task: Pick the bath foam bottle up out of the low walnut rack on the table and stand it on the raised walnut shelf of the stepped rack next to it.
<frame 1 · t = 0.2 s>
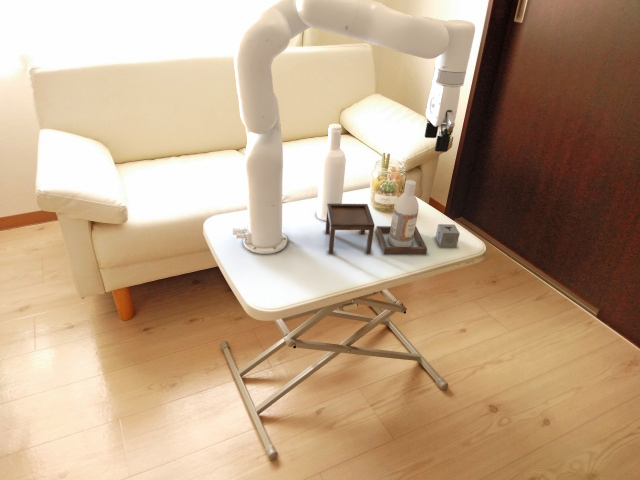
hand: (435, 144, 119), 31 cm above the table, tool pointing down, fingers open, 9 cm apart
rack: (373, 242, 135), on the table
bottle: (328, 216, 147), on the table
dice cube: (445, 243, 137), on the table
bath foam: (400, 243, 136), on the table
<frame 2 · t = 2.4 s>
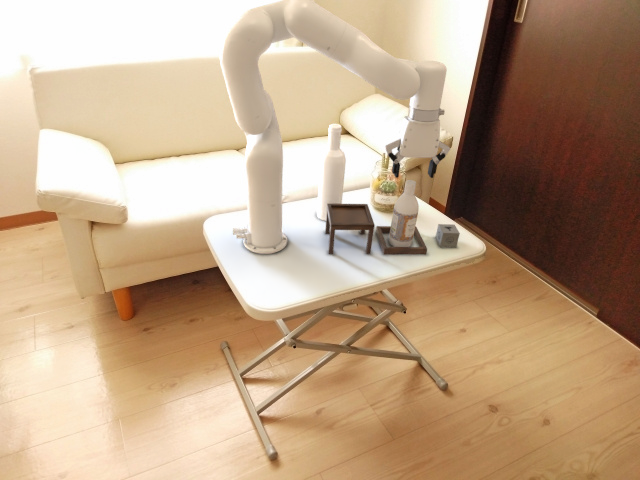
hand: (413, 175, 124), 22 cm above the table, tool pointing down, fingers open, 9 cm apart
nothing on the table moved.
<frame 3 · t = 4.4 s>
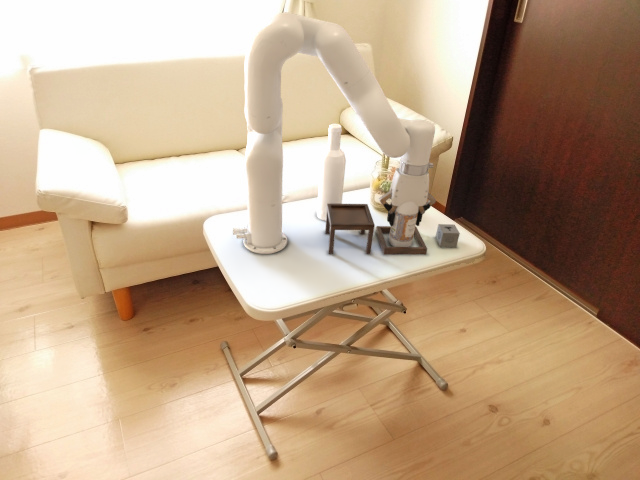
hand: (403, 223, 132), 7 cm above the table, tool pointing down, fingers closed on bath foam, 7 cm apart
bath foam: (400, 243, 136), on the table, touching gripper
everything else where it was.
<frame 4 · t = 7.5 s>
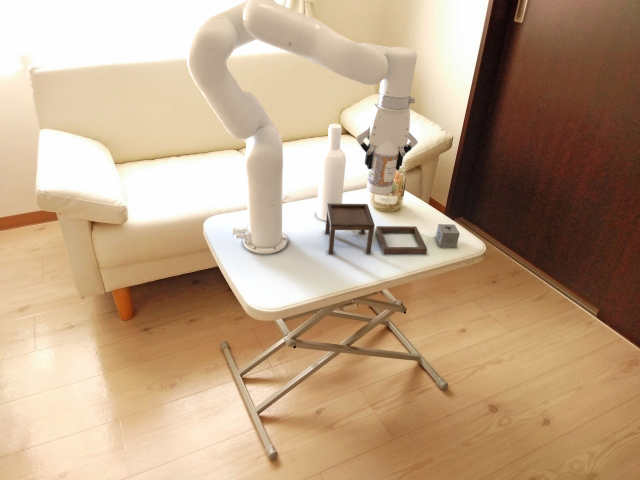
hand: (382, 167, 122), 24 cm above the table, tool pointing down, fingers closed on bath foam, 7 cm apart
bath foam: (378, 190, 125), point 17 cm above the table, touching gripper
everything else where it was.
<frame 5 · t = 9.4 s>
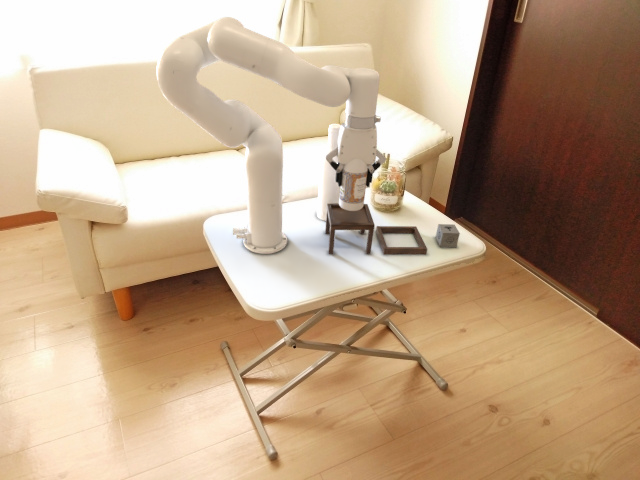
hand: (353, 184, 124), 19 cm above the table, tool pointing down, fingers closed on bath foam, 7 cm apart
bath foam: (350, 206, 127), point 12 cm above the table, touching gripper
everything else where it was.
when the fingers open (16 cm above the table, at t = 10.9 s): bath foam stays where it is, resting on rack.
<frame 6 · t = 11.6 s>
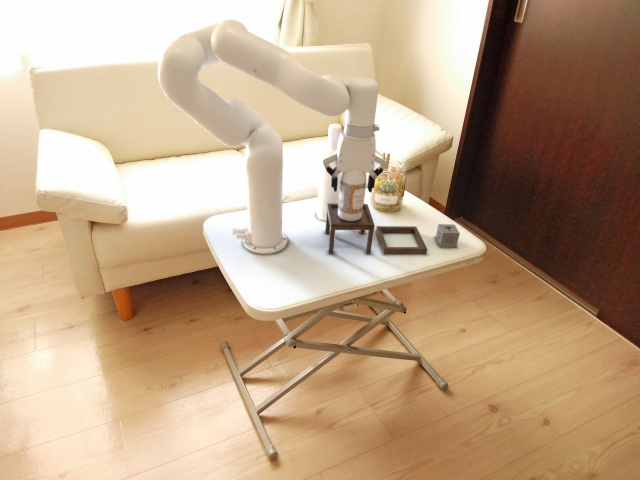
hand: (352, 189, 125), 17 cm above the table, tool pointing down, fingers open, 9 cm apart
bath foam: (349, 216, 129), point 9 cm above the table, touching rack
everything else where it was.
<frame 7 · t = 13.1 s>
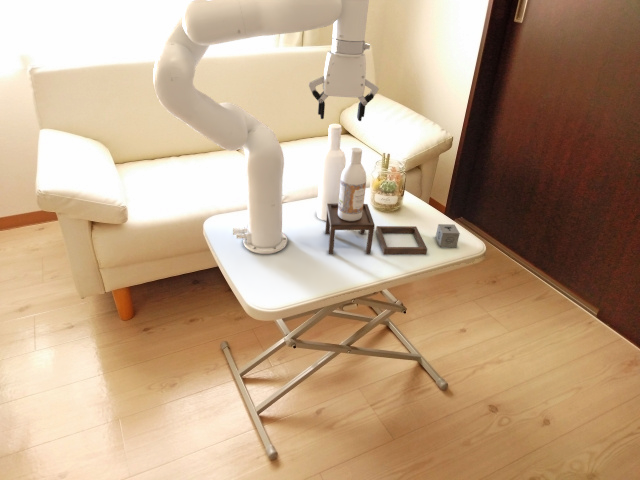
hand: (340, 118, 116), 36 cm above the table, tool pointing down, fingers open, 9 cm apart
nothing on the table moved.
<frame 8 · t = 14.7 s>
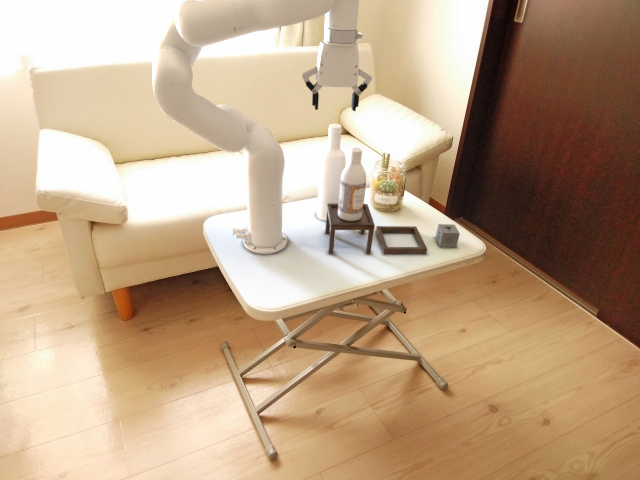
hand: (334, 109, 116), 38 cm above the table, tool pointing down, fingers open, 9 cm apart
nothing on the table moved.
at the end: bath foam inside the target area on the rack (0.0 cm from its centre), point 8.8 cm above the rack's base; bath foam tilted 0°; the gripper is holding nothing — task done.
